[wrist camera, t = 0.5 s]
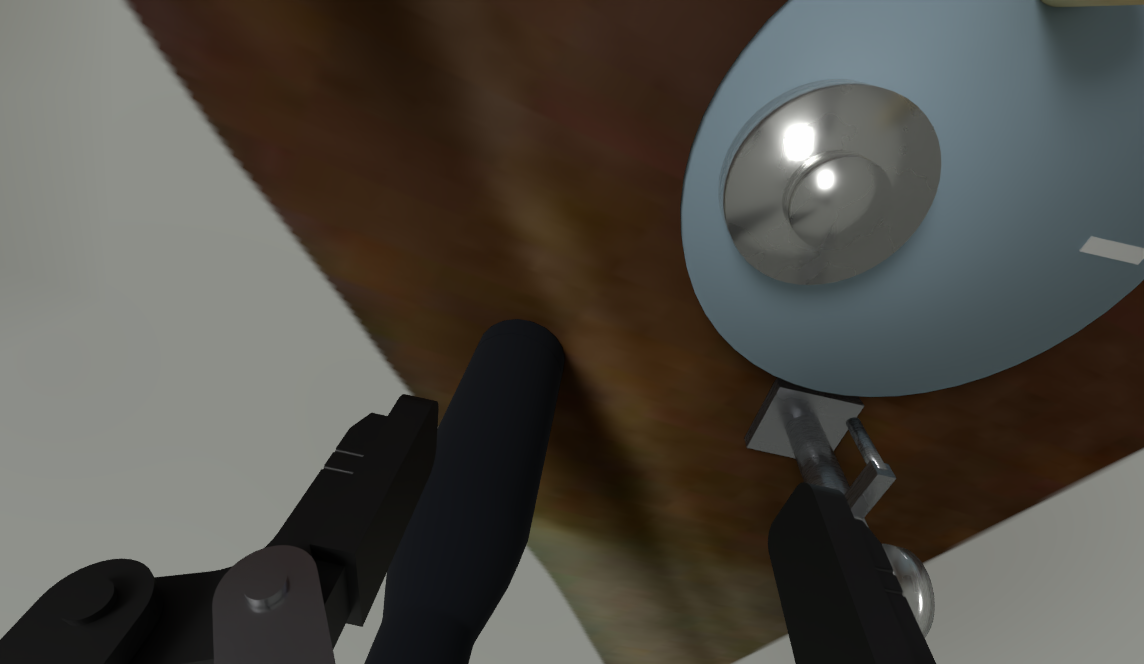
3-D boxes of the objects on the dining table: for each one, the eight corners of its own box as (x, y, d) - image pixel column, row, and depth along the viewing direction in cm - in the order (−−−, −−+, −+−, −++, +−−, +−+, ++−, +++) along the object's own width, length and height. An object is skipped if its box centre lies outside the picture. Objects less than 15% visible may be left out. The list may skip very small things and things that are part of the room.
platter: (790, -170, 19) (839, -229, 15) (1380, -28, 20) (1610, -42, 15) (631, 336, 32) (631, 389, 28) (989, 416, 33) (1048, 482, 28)
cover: (759, 58, 22) (782, 64, 19) (955, 103, 22) (1012, 118, 19) (694, 243, 27) (702, 275, 24) (854, 280, 27) (886, 317, 24)
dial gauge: (786, 359, 34) (878, 564, 21) (871, 378, 34) (1013, 593, 21) (744, 438, 38) (799, 649, 25) (819, 455, 38) (912, 674, 26)
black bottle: (506, 302, 34) (141, 1099, 9) (582, 350, 36) (454, 1154, 10) (463, 361, 37) (105, 1076, 12) (535, 403, 39) (348, 1120, 14)
